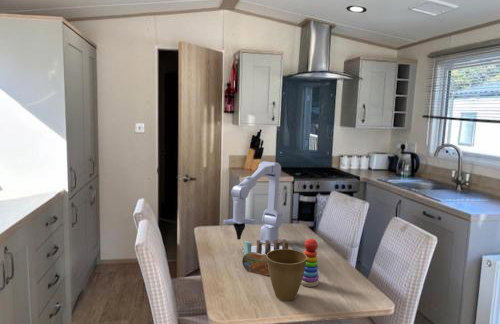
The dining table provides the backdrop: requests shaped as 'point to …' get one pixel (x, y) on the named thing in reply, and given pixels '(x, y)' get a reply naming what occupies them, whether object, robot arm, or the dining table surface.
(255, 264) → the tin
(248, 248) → the domino
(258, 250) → the domino
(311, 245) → the stacking toy
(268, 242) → the domino
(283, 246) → the domino
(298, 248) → the stop block
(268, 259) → the plant pot
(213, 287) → the dining table surface
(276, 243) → the domino
